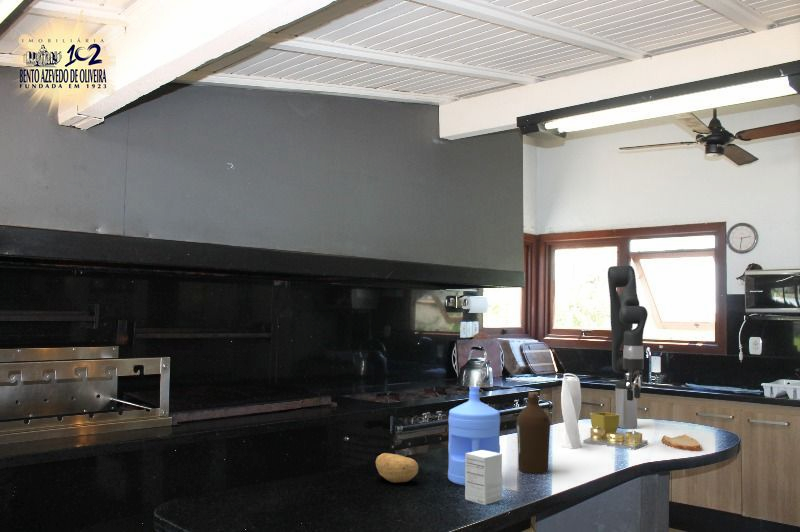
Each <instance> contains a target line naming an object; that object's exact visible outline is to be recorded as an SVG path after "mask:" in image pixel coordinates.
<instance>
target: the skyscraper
mask: <svg viewBox="0 0 800 532" xmlns="http://www.w3.org/2000/svg"><path fill="white" fill-rule="evenodd" d="M560 394H561V395H560V399H561V400H560V403H561V413H562V419H563V423H564V425H563V431H562V432H563V433H562V437H561V438H562V439H561V448H566V449H571V450H574V448H575V449H579V447H580V448H582V442H581V436H580V430H579V420H580V415H581V410H582V409H581V408H582V389H581V382H580V378H579V377H578V376H577V375H575V374H573V373H569V372H567V373H564V374H563V377H562V383H561V393H560Z"/></svg>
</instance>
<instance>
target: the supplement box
mask: <svg viewBox="0 0 800 532" xmlns="http://www.w3.org/2000/svg"><path fill="white" fill-rule="evenodd" d="M502 455H503V454H502V453H501V452H500V453H496V452H490V451H485V450H479V451H474V452H470V453H465V486H464V487H465V490H464V499H465V501H469V502H473V503H476V504H480V505H482V506H483V505H484V506H486V505H490V504H492V503H496V502H500V501H502V500H503V488H502V487H503V485H502V484H503V475H502V474H503V467H502V465H503V458H502V457H503V456H502Z"/></svg>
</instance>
